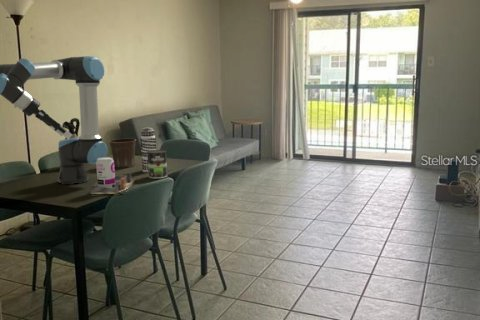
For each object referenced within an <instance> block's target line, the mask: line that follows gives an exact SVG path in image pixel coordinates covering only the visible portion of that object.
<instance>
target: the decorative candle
mask: <svg viewBox="0 0 480 320" xmlns="http://www.w3.org/2000/svg"><path fill="white" fill-rule="evenodd" d="M139 140H140V147H141V148H140V150H141V158H142V159H141V163H142V165H141V166H142V172H143V173H148V156H147V152H148V151H151V150H157V147H156V146H157V141H156V140H157V138H156V135H155V129H154V128H153V127H152V126H151V127H148V126H147V127H142V128H141V130H140V139H139Z"/></svg>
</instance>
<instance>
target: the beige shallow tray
mask: <svg viewBox="0 0 480 320" xmlns="http://www.w3.org/2000/svg"><path fill="white" fill-rule="evenodd" d="M135 180H136V179H135V178H133V177H132V171H130V170H129V171H127V172H126V175H115V183H116V187H110V188H98V181H97V182H95V183H94V184H93V185H92V186H91V187H90V188H89V195H90V194H114V195H116V194H115V193H118V192H121V191H123V190H126V189H128V188H129V187H130V188H131V186H132V185H133V184H134V183H135ZM130 188H129V189H130ZM129 189H128V190H129Z"/></svg>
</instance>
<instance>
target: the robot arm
mask: <svg viewBox="0 0 480 320" xmlns="http://www.w3.org/2000/svg"><path fill="white" fill-rule="evenodd" d="M104 76H105V67H104V65H103V63H102V61H101V60H100V58H98V57H96V56H93V55H92V56H90V55H89V56H88V55H86V56H71V57H66V58H61V59H60V58H59V59H53V60H51V61H46V62H32V61H30V60H29V59H27V58H20V59H19V60H18V61H16V63H8V64H7V63H5V64H4V63H3V64H0V95H1V97H3V98H4V99H6V100H7V101H9V103H11V104H12V105H13V107H14V108H17V109H19V110H20V111H22V113H23V114H24V115H26V116H27V117H31V116H32V115H34V117H35V118H36V119H38V120H40V121H41V122H42V123H44V124H45V125H46V126H48V127H50V129H52V130H53V131H54V132H55V133H57V134H58V135H59V136H61V137H62V136H63V137H65V138H67V139H65V138H64V139H62V140H59V141H58V148H57V149H58V154H59V155H58V156H59V165H60V169H59V174H58V178H57V180H58V181H57V182H59V183H63V184H62V185H65V184H69V185H75V184H74V183H79V184H83V183H82V182H84V183H87V182H89V176H88V172H87V170H86V168H85V164H89V165H96V161H97V159H98V158H102V157H108V156H107V155H108V146H107V144H106V143H105V142H104V141H103V136H101V135H100V132H99V131H100V129H99V108H98V107H99V106H98V87H99V85H100V83H101V80H103V77H104ZM41 79H54V80H67V81H68V80H69V81H75V85H76V86H77V87H78V92H79V93H78V94H79V115H80V118H79V119H80V132H81V133H80V136H78V138H71V139H70V137H71V136H72V134H71V133H70V132H69V130H68V129H66V128H63V126H62V125H61V124H60V123H59V122H57V121H56V120H54V119H53V118H52V117H51V116H50V115H49V114H47V113H46V111H44V110H43V109H39V107H40V106H41V103H40V101H39V100H37V99H36V98H34V97H33V96H32V95H31V94H30V93H29V92H27V91H26V90H24V88H22V87H23V86H24V85H25V84H26V83H27V81H28V80H41ZM86 181H87V182H86ZM59 183H58V184H59Z"/></svg>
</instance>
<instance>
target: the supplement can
mask: <svg viewBox="0 0 480 320" xmlns="http://www.w3.org/2000/svg"><path fill="white" fill-rule="evenodd" d="M95 165H96V167H95V168H96V176H97V179H96V180H97V182H98V188H110V187H116V183H115V176H116V172H115V166H114V160H113V157H110V156H106V157H102V158H98V159H97V161H96V164H95Z"/></svg>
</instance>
